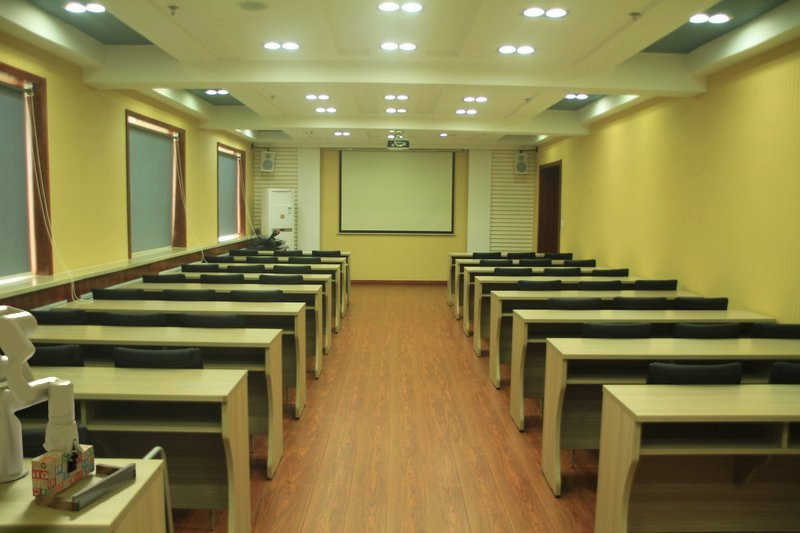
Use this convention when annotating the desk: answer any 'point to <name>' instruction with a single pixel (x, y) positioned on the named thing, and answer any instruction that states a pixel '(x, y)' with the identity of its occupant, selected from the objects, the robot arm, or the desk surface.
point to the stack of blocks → (59, 471)
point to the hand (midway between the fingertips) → (63, 469)
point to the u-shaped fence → (91, 488)
